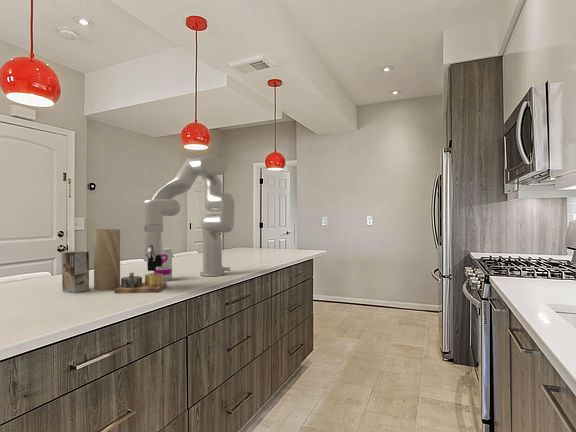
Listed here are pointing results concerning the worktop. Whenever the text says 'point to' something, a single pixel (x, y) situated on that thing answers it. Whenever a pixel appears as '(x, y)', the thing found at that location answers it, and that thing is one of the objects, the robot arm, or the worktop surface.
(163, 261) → the supplement can
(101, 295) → the worktop surface
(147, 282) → the brass gear
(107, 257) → the tube
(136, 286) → the gear board
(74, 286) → the coffee box
